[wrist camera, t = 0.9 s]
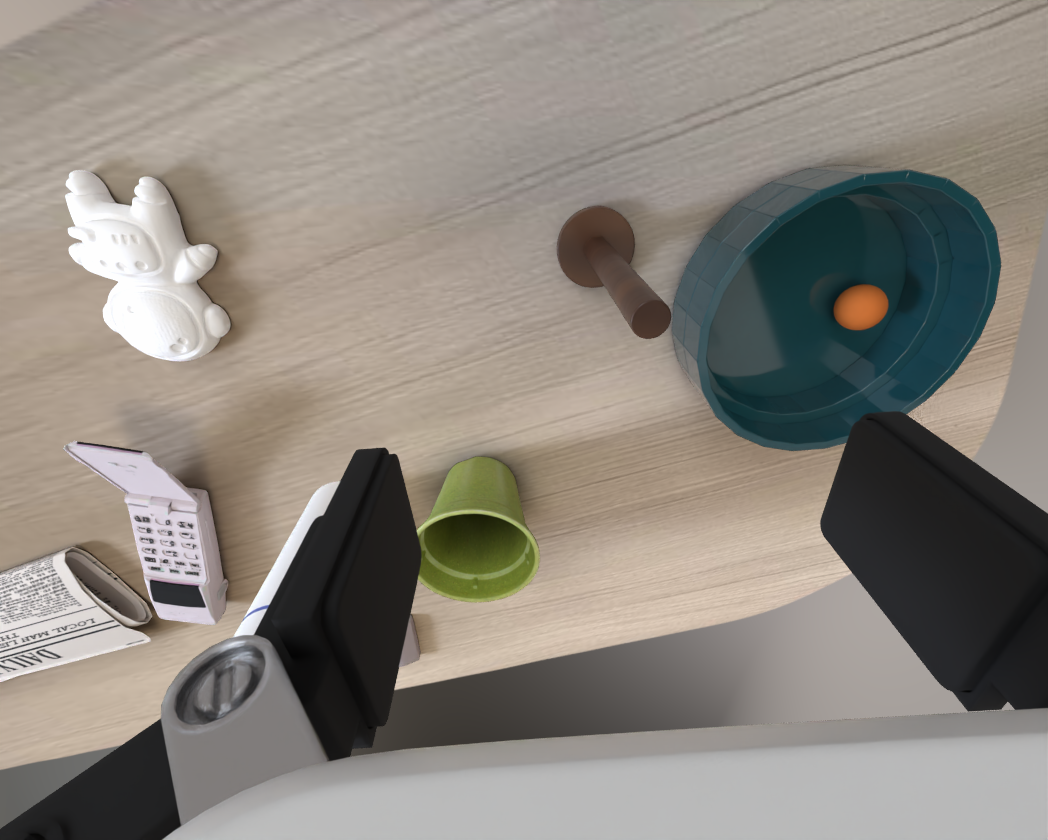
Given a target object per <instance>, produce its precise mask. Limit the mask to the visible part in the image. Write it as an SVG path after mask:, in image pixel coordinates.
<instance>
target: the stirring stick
mask: <svg viewBox="0 0 1048 840" xmlns="http://www.w3.org/2000/svg"><path fill="white" fill-rule="evenodd" d="M634 246H635V244H634V235H633V232H632V229H631V227H630V225H629V223H628V222H627V220H626V219H625V218H624V217H623V216H622V215H621V214H619V213H618V212H616V211H615V210H613V209H611V208H608V207H603V206H592V207H587V208H584V209H582V210H580V211H578V212H577V213H575V214H574V215H573V216H571V217H570V218H569V219H568V220H567V222H566V223H565V224H564V226H563V228H562V229H561V232H560V234H559V237H558V242H557V256H558V260H559V263H560V266H561V268H562V270H563V272H564V273H565V274H566V276H567V277H568V278H569V279H571V280H572V281H573V282H575V283H576V284H578V285H581V286H584V287H590V288H596V287H602V286H605V288H606V289H607V291H608V293H609V294H610V296H611V297H612V299H613V300H614V302H615V304H616V305H617V307H618V308H619V310H620V311H621V313H622V315H623V316H624V318H625V319H626V321H627V322H628V324H629V326H630V327H631V329H632V330H633V332H634V333H635V334H636V335H637V336H639V337H641V338H645V339H651V338H655V337H658V336H660V335H661V334H662V333H664V332H665V331H666V329H667V328H668V326H669V324H670V321H671V312H670V309H669V307H668V306H667V305H666V304H665V303H664V301H663V300H662V299H661V298H660V297H659V296H658V295H657V294H656V293H655V292H654V291H653V290H652V289H651V288H650V287H649V286H648V284H647V283H646V282H645V281H644V280H643V279H642V278H641V277H640V276H639V275H638V274H637V273H636V272H635V271H634V270H633V269H632V268H631V266H630V265H629V264H630V262H631V260H632V257H633V253H634Z"/></svg>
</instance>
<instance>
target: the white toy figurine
mask: <svg viewBox="0 0 1048 840" xmlns="http://www.w3.org/2000/svg"><path fill="white" fill-rule="evenodd" d="M66 186H67V187H68V188H69V189H70V190H71V191H72V193H68V194H66V201H67V205H68V208H69V211H70V213H71V216H72V219H73V221H74V223H75V225H76V227H70V228H68V233H69V234H70V235H71V236H72V237H74V238H77V239H80V240H82V242H83V243H75V244H73V245H71V246H70V248H69V253H70V255H71V256H72V258H73V259H74V260H75V261H76V262H77V263H78V264H80V265H83V266H84V267H85V269H86V270H88V271H90V272H92V273H95V274H98V275H100V276H103V277H106V278H110V279H114V280H117V281H118V282H119V283H118V284H117V285H116V286H115V287H114V288H113V289H112V291H111V292H110V294H109V297H108V303H107V304H106V305H105V306H104V308H103V317H104V320H105V322H106V323H107V325H108V326H109V327H110V328H111V329H112V330H114V331H116V332H118V333H120V334H121V335H122V336H123V337H124V338H125V339H126V340H127V341H128V342H129V343H130V344H131V345H132V346H134V347H135V348H136V349H138V350H140V351H141V352H143V353H146V354H148V355H150V356H153V357H156V358H160V359H165V360H169V361H189V360H194V359H197V358H200V357H202V356H204V355H206V354H208V353H209V352H210V351H212V350H213V349H214V348H215V347H216V345H217V344H218V343H219V341H220V338H221V337H223V336H224V335H225V334H227V333H228V331H229V330H230V320H229V317H228V315H227V313H226V312H225V311H224V310H223V309H222V308H221V307H220V306H218V305H216V304H213V303H212V302H211V300H210V298H209V297H208V296H207V295H206V293H205V292H204V291H203V290H202V289H201V288H200V287H199V286H198V284H197V280H198V279H200V278H201V277H202V276H203V275H205V274H206V273H207V272H208V271H209V270H210V269H211V268H212V267H213V266H214V264H215V261H216V257H217V254H218V251H217V249H216V248H214V247H213V246H211V245H209V244H199V245H195V246H192V245H190V244H189V243H188V242H187V240H186V238H185V234H184V231H183V228H182V225H181V222H180V216H179V214H178V212H177V210H176V207H175V205H174V202H173V200H172V198H171V196H170V194H169V192H168V191H167V189H166V188H165V186H164V185H163V184H162V183H161V182H160V181H158V180H157V179H155V178H152V177H142V178H140V180H139V185H137V186H136V187H135V189H134V192H135V194H136V195H137V196H138V197H135V198H133V200H132V206H129V205H124V204H117V203H116V202H115V201H114V200H113V198H112V196H111V195H110V193H109V191H108V189H107V187H106V186H105V184H104V183H103V182H102V181H101V180H100V179H99V178H98V177H97V176H96V175H95V174H93V173H91V172H89V171H84V170H76V171H72V172H71V173H70V174H69V179H68V180H67V182H66Z"/></svg>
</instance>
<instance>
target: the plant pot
mask: <svg viewBox="0 0 1048 840" xmlns="http://www.w3.org/2000/svg"><path fill="white" fill-rule="evenodd" d="M417 534H418V538H419V542H420V546H421V554H422V558H421V566H420V571H419V576H418V580H419V581H420V582H421V583H422V584H423V585H424V586H425V587H427V588H428V589H430V590H431V591H433V592H435V593H437V594H439V595H441V596H444V597H447V598H450V599H453V600H458V601H463V602H489V601H494V600H499V599H503V598H506V597H508V596H511V595H513V594H515V593H517V592H518V591H520V590H522V589H523V588H524V587H525V586H527V585H528V584H529V583H530V582H531V581H532V579H533V578H534V576H535V574H536V573H537V570H538V568H539V563H540V553H539V547H538V544H537V542H536V539H535V537H534V536H533V534H532V533H531V532H530V530H529V529H528V527H527V525H526V524H525V520H524V516H523V511H522V507H521V503H520V498H519V494H518V489H517V484H516V480H515V478H514V476H513V474H512V472H511V471H510V469H509V468H508V467H507V466H506V465H505V464H503V463H502V462H500V461H498V460H495V459H492V458H488V457H473V458H471V459H468V460H466V461H463V462H459V463H457V464H456V465H454V466H453V467H452V469H451V470H450V471H449V473H448V475H447V477H446V479H445V482H444V484H443V486H442V489H441V491H440V494H439V496H438V498H437V501H436V503H435V505H434V508H433V510H432V512H431V514H430V516H429V518H428V519H427V520H426V521H425V522H424V523H423V524H422V525H421V526H420V527H419V528H418V529H417Z"/></svg>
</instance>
